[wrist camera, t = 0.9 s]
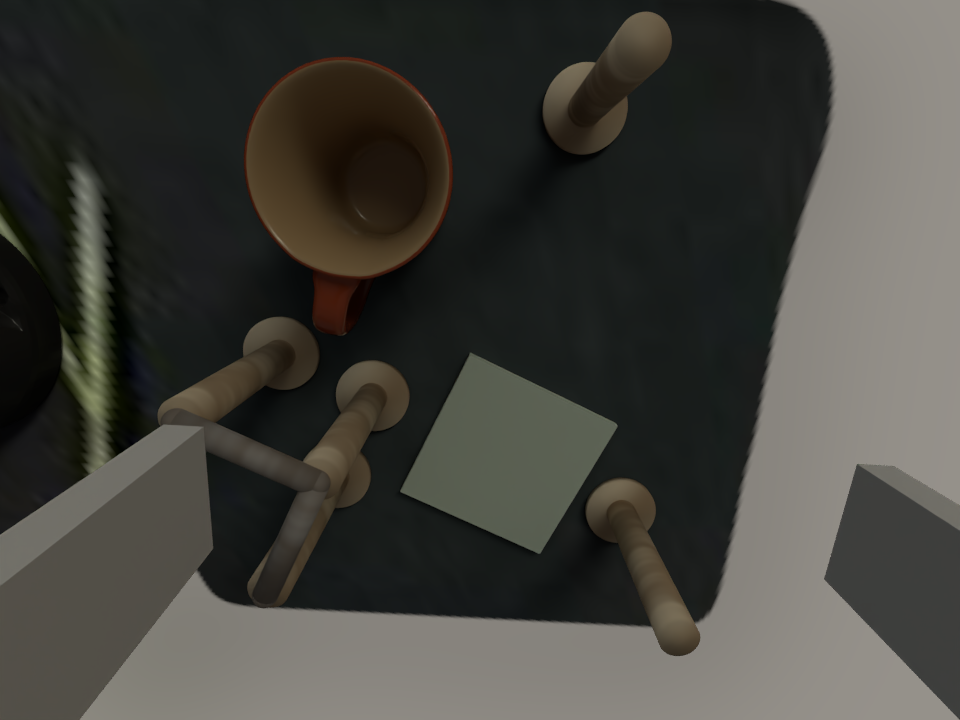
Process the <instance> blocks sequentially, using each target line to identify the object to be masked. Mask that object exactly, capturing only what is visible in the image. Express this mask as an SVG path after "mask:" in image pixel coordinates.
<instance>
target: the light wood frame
mask: <svg viewBox="0 0 960 720" xmlns="http://www.w3.org/2000/svg"><path fill="white" fill-rule="evenodd" d="M243 355H244V357H243V358H241V359H239V360H237V361H236V362H234V363H232V364H230V365H229V366H227V367H225V368H223V369H221V370H220V371H218V372H216V373H214V374H213V375H211V376H209V377H207V378H206V379H204V380H202V381H200V382H198V383H197V384H195V385H193V386H191V387H190V388H188V389H186V390H184V391H182V392H181V393H179V394H177V395H175V396H174V397H172V398H170V399H168V400H167V401H165V402H164V403H163V404H162V405H161V406H160V408H159V410H158V422H159V425H160V427H161V426H162V425H181V426H199V427H204V440H205V451H207V452H210V453H212V454H214V455H216V456H219V457H221V458H223V459H226V460H228V461H230V462H232V463H235V464H237V465H239V466H242V467H244V468H246V469H249V470H251V471H253V472H255V473H258V474H260V475H262V476H265V477H267V478H269V479H271V480H274V481H276V482H278V483H281V484H283V485H285V486H287V487H290V488H292V489H294V490H297V491H298V492H297V494H296V497H295V499H294V501H293V503H292V505H291V508H290V510H289V512H288V514H287V517H286V519H285V521H284V523H283V525H282V528H281V530H280V532H279V534H278V536H277V539H276V540H275V542H274V543H273V545H272V547H271V548H270V550H269V551H268V553H267V554H266V556H265V557H264V559H263V560H262V562H261V563H260V565H259V566H258V568H257V569H256V571H255V572H254V574H253V575H252V577H251V578H250V580H249V582H248V585H247V590H248V594H249V596H250V597H251V599H252V600H253V603H254V604H255V605H256V606H257V607H259V608H268V607H277V606H280V605H282V604H283V603H284V602H285V601H286V600H287V598H288V596H289V594H290V592H291V591H292V589H293V587H294V585H295V583H296V581H297V579H298V577H299V575H300V573H301V572H302V570H303V568H304V566H305V564H306V562H307V560H308V558H309V556H310V554H311V553H312V551H313V549H314V547H315V545H316V543H317V541H318V539H319V537H320V535H321V534H322V532H323V530H324V528H325V526H326V524H327V522H328V520H329V518H330V516H331V514H332V513H333V511H334V509H335V508H343V507H348V506H350V505H353V504H355V503H356V502H358V501H359V500H360V499H361V498H362V497H363V496H364V495H365V493H366V491H367V489H368V487H369V484H370V481H371V468H370V465H369V462H368V460H367V459H366V457H365V456H364V454H363V453H362V452H361V451H360V450H361V448H362V447H363V445H364V443H365V441H366V439H367V437H368V436H369V434H370V432H371V431H380V430H385V429H387V428H390V427H392V426H394V425H395V424H396V423H398V422H399V421H400V420H401V418H402V417H403V415H404V414H405V412H406V409H407V407H408V404H409V398H410V392H409V387H408V384H407V382H406V380H405V378H404V376H403V375H402V374H401V373H400V371H398V370H397V369H396V368H395V367H393V366H392V365H390V364H388V363H386V362H383V361H379V360H365V361H361V362H359V363H356V364H354V365H353V366H351V367H350V368H349V369H348V370H347V371H346V372H345V373H344V374H343V375H342V377H341V378H340V380H339V382H338V385H337V389H336V401H337V405H338V408H339V410H340V412H341V414H340V415H339V417H338V418H337V419H336V421H335V422H334V423H333V425H332V426H331V427H330V429H329V430H328V431H327V433H326V434H325V435H324V437H323V438H322V439H321V441H320V442H319V443H318V444H317V446H316V447H315V448H313V449H312V450H311V451H310V452H309V454H308V455H307V456H306V457H305V459H304V461H303V462H302V461H300V460H297V459H295V458H293V457H291V456H288V455H286V454H284V453H281V452H279V451H277V450H275V449H272V448H270V447H268V446H266V445H263V444H261V443H259V442H257V441H254V440H252V439H250V438H248V437H245V436H243V435H241V434H239V433H236V432H234V431H232V430H230V429H227V428H225V427H223V426H221V425H218V424H216V422H217V421H218V420H220V419H221V418H222V417H224V416H225V415H226V414H228V413H229V412H230V411H232V410H233V409H234V408H236V407H237V406H238V405H240V404H241V403H242V402H244V401H245V400H246V399H248V398H249V397H250V396H252V395H253V394H254V393H256V392H257V391H258V390H260V389H261V388H262V387H264V386H265V385H266V386H268V387H271V388H274V389H280V390H288V389H293V388H296V387H299V386H301V385H303V384H304V383H305V382H307V381H308V380H309V379H310V378H311V377H312V376H313V375H314V373H315V372H316V370H317V368H318V365H319V361H320V349H319V345H318V342H317V340H316V338H315V336H314V335H313V333H312V332H311V331H310V330H309V328H307V327H306V326H305V325H304V324H302V323H301V322H299V321H297V320H295V319H293V318H289V317H283V316H277V317H271V318H268V319H265V320H263V321H261V322H259V323H257V324H256V325H255V326H254V327H252V329H251V330H250V331H249V332H248V334H247V336H246V338H245V341H244V345H243Z"/></svg>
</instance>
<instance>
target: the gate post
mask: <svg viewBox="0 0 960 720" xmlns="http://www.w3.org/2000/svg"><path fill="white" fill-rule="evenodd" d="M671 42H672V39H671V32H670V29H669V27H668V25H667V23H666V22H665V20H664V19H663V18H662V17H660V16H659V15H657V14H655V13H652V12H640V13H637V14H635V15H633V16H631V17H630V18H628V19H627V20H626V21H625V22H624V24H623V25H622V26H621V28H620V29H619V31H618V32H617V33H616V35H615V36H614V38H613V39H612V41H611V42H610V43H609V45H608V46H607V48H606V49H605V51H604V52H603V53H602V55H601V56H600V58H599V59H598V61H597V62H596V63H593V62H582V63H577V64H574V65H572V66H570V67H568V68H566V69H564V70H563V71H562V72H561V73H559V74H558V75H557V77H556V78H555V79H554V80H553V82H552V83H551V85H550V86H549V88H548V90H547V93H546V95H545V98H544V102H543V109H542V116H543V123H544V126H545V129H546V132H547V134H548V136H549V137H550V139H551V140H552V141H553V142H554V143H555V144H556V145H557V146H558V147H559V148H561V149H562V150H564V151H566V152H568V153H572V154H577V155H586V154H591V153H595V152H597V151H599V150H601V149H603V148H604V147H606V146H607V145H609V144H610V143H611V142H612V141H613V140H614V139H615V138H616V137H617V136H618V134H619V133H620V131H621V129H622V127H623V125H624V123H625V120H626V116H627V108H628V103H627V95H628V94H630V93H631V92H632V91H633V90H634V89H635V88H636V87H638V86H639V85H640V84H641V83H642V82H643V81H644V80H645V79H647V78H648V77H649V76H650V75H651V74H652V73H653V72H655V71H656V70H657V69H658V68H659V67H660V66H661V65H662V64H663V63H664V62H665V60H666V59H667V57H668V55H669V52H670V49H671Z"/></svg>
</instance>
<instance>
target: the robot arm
mask: <svg viewBox="0 0 960 720" xmlns="http://www.w3.org/2000/svg"><path fill="white" fill-rule="evenodd" d="M60 359H61V332H60V326H59V321H58V317H57V314H56V310H55V307H54V305H53V302H52V299H51V297H50V295H49V293H48V291H47V289H46V287H45V285H44V283H43V281H42V280H41V278H40V277H39V275H38V274H37V272H36V271H35V269H34V268H33V267H32V265H31V264H30V263H29V262H28V260H27V259H26V258H25V257H24V256H23V255H22V253H21V252H20V251H19V250H18V249H17V248H16V247H15V246H14V245H13V244H12V243H10V242H9V241H8V240H7V239H6V238H5V237H3V236H2V235H1V234H0V428H2V427H5V426H7V425H9V424H12V423H14V422H16V421H18V420H20V419H22V418H24V417H25V416H27V415H28V414H29V413H31V412H32V411H33V410H34V409H35V408H36V407H38V406H39V405H40V403H41V402H42V401H43V400H44V399H45V397H46V396H47V394H48V393H49V391H50V390H51V388H52V386H53V384H54V381H55V379H56V376H57V373H58V370H59V366H60ZM212 549H213V541H212V528H211V516H210V503H209V490H208V478H207V465H206V453H205V440H204V427H199V426H181V425H162V426H161V427H159V428H158V429H156V430H155V431H153V432H152V433H150V434H149V435H147V436H146V437H144V438H143V439H142V440H140V441H139V442H137V443H136V444H134V445H133V446H131V447H130V448H128V449H127V450H125V451H124V452H122V453H121V454H119V455H118V456H116V457H115V458H113V459H112V460H110V461H109V462H107V463H106V464H105V465H103V466H102V467H100V468H99V469H97V470H96V471H94V472H93V473H91V474H90V475H88V476H87V477H85V478H84V479H82V480H81V481H79V482H78V483H76V484H75V485H73V486H72V487H70V488H69V489H68V490H66V491H65V492H63V493H62V494H60V495H59V496H57V497H56V498H54V499H53V500H51V501H50V502H48V503H47V504H45V505H44V506H42V507H41V508H39V509H38V510H36V511H35V512H33V513H32V514H31V515H29V516H28V517H26V518H25V519H23V520H22V521H20V522H19V523H17V524H16V525H14V526H13V527H11V528H10V529H8V530H7V531H5V532H4V533H2V534H1V535H0V720H80V718H81V717H82V716H83V714H84V713H85V712H86V711H87V709H88V708H89V707H90V705H91V704H92V703H93V702H94V700H95V699H96V698H97V696H98V695H99V694H100V693H101V691H102V690H103V689H104V687H105V686H106V685H107V684H108V682H109V681H110V680H111V679H112V677H113V676H114V675H115V673H116V672H117V671H118V670H119V668H120V667H121V666H122V665H123V663H124V662H125V661H126V659H127V658H128V657H129V656H130V654H131V653H132V652H133V650H134V649H135V648H136V647H137V645H138V644H139V643H140V641H141V640H142V639H143V637H144V636H145V635H146V634H147V632H148V631H149V630H150V629H151V627H152V626H153V625H154V624H155V622H156V621H157V619H158V618H159V617H160V616H161V614H162V613H163V612H164V611H165V609H166V608H167V607H168V606H169V604H170V603H171V602H172V601H173V599H174V598H175V597H176V595H177V594H178V593H179V591H180V590H181V589H182V587H183V586H184V585H185V584H186V582H187V581H188V580H189V579H190V577H191V576H192V575H193V574H194V572H195V571H196V570H197V569H198V567H199V566H200V565H201V563H202V562H203V561H204V560H205V558H206V557H207V556H208V554H209V553H210V552H211V551H212ZM824 579H825V580H826V581H827V583H828V584H829V585H830V586H831V587H832V588H833V589H834V590H835V591H836V592H837V593H838V594H839V595H840V596H841V597H842V598H843V599H844V600H845V601H846V602H847V603H848V604H849V605H850V606H851V607H852V608H853V610H854V611H855V612H856V613H858V615H859V616H860V617H861V618H862V619H863V620H864V621H865V622H866V623H867V624H868V625H869V626H870V627H871V628H872V629H873V630H874V631H875V632H876V633H877V634H878V635H879V637H880V638H881V639H882V640H883V641H884V642H885V643H886V644H887V645H888V646H889V647H890V648H891V649H892V650H893V651H894V652H895V653H896V654H897V655H898V656H899V657H900V658H901V659H902V660H903V661H904V662H905V663H906V665H907V666H908V667H909V668H910V669H911V670H912V671H913V672H914V673H915V674H916V675H917V676H918V677H919V678H920V679H921V680H922V681H923V682H924V683H925V684H926V685H927V686H928V687H929V688H930V689H931V690H932V691H933V693H934V694H936V695H937V697H938V698H939V699H940V700H941V701H942V702H943V703H944V704H945V705H946V706H947V707H948V708H949V709H950V710H951V711H952V712H953V713H954V714H955V715H956V716H957V717H958V718H959V719H960V505H958V504H956V503H955V502H953V501H951V500H950V499H948V498H946V497H945V496H943V495H941V494H940V493H938V492H936V491H935V490H933V489H931V488H929V487H928V486H926V485H925V484H923V483H921V482H920V481H918V480H916V479H914V478H913V477H911V476H909V475H908V474H906V473H904V472H903V471H901V470H899V469H898V468H896V467H894V466H881V465H864V464H857V466H856V470H855V474H854V477H853V481H852V484H851V487H850V491H849V494H848V498H847V501H846V505H845V508H844V512H843V515H842V519H841V522H840V526H839V529H838V533H837V537H836V540H835V543H834V547H833V551H832V554H831V557H830V561H829V564H828V568H827V571H826V575H825V578H824Z"/></svg>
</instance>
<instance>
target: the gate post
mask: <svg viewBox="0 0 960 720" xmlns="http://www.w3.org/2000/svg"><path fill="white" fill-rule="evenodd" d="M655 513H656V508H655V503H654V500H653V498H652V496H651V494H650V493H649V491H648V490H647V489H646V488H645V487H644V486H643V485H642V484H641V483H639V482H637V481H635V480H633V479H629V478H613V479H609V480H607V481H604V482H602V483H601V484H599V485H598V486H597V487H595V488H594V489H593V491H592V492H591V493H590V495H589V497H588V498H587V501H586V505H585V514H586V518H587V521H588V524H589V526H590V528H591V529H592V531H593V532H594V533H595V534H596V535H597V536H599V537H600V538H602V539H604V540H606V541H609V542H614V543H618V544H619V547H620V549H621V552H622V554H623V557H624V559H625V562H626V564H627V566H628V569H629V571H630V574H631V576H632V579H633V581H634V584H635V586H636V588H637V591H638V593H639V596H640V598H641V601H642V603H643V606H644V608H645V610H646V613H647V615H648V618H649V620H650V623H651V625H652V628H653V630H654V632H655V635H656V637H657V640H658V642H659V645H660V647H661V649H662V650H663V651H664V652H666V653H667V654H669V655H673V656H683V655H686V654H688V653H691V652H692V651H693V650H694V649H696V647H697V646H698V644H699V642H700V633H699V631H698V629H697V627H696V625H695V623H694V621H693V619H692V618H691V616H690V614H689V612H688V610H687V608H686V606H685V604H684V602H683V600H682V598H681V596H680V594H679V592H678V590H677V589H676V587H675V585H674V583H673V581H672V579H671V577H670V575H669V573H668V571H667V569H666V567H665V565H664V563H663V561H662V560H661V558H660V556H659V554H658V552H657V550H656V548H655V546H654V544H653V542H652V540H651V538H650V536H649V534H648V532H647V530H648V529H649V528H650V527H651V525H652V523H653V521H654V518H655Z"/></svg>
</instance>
